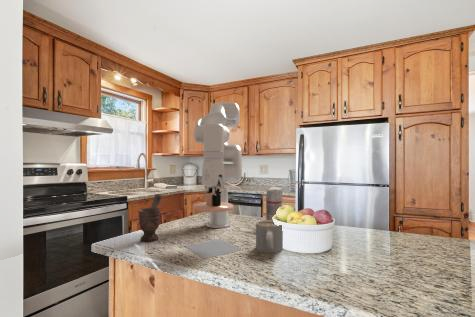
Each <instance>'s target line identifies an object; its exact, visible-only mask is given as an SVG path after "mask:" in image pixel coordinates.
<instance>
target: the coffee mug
mask: <svg viewBox="0 0 475 317" xmlns="http://www.w3.org/2000/svg"><path fill="white" fill-rule="evenodd" d="M283 235H284V230H283V231H282V225H279V226H277V225H275V224H274V222H273V220H266V219H263V220H258V221H256V224H255V250H257V251H259V252H262V253H266V254H275V253H276V254H277V253H280V252H282V251H283V249H284V248H283V247H284V245H283V244H284V243H283V242H284V238H283V237H284V236H283Z"/></svg>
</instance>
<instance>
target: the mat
mask: <svg viewBox="0 0 475 317" xmlns="http://www.w3.org/2000/svg"><path fill="white" fill-rule="evenodd" d="M184 247H185V248H187V249H188V250H190V251H191V252H193V253H194V254H195V255H197V256H198V257H200V258H202V259H203V260H206V259H209V258H214V257H215V258H216V257H219V256H224V255H227V254H230V253H231V254H232V253H236V252H240V251H243V249H242V248H240V247H238V246H236V245H233V244H232V243H230V242H227V240H224V239H221V238H217V239H212V240H208V241H202V242H197V243H192V244H187V245H184Z"/></svg>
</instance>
